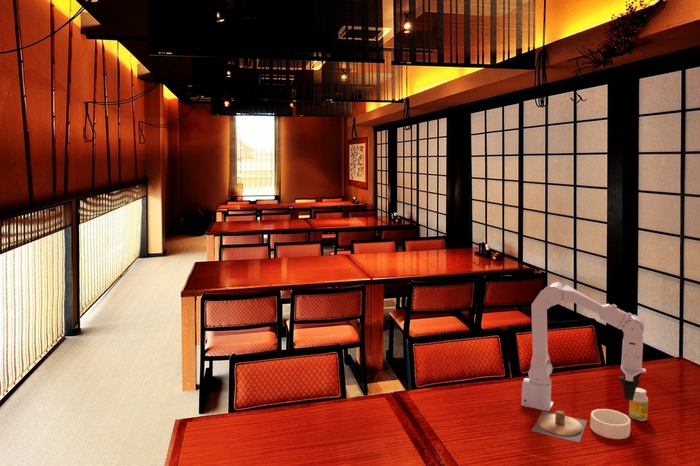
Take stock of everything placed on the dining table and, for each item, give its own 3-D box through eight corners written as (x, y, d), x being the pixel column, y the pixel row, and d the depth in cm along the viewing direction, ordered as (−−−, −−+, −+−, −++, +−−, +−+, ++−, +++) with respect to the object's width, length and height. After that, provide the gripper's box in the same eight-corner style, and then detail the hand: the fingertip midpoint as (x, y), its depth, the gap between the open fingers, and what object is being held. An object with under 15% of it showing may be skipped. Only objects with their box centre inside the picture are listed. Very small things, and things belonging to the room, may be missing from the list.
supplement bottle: (634, 412, 176) (635, 385, 175) (650, 418, 172) (652, 390, 170) (625, 416, 173) (627, 389, 172) (641, 423, 169) (643, 394, 168)
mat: (531, 432, 163) (531, 430, 163) (542, 412, 177) (542, 410, 177) (579, 443, 156) (579, 442, 156) (587, 422, 170) (587, 420, 170)
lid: (534, 429, 164) (534, 416, 164) (543, 413, 175) (543, 400, 175) (578, 439, 158) (579, 426, 157) (584, 422, 169) (585, 409, 168)
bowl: (588, 435, 162) (589, 419, 161) (593, 420, 171) (593, 406, 170) (628, 444, 156) (629, 428, 155) (630, 429, 165) (631, 414, 165)
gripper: (645, 363, 157) (642, 406, 158) (648, 349, 169) (645, 389, 170) (618, 359, 160) (616, 401, 162) (623, 346, 173) (621, 385, 174)
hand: (629, 395), depth 166 cm, fingers open, 7 cm apart
